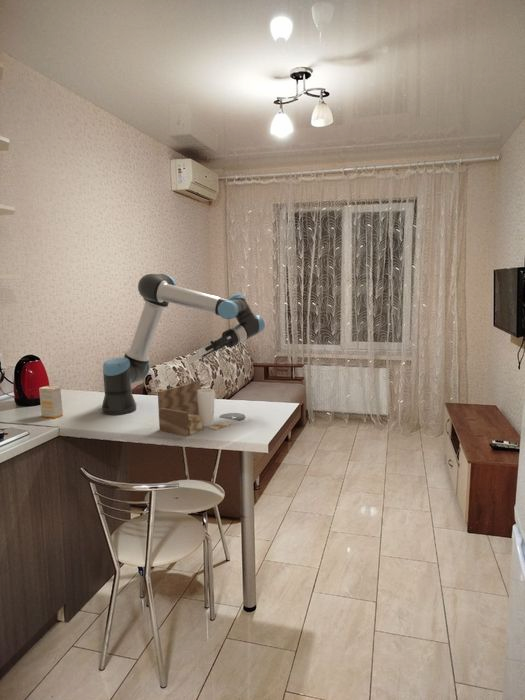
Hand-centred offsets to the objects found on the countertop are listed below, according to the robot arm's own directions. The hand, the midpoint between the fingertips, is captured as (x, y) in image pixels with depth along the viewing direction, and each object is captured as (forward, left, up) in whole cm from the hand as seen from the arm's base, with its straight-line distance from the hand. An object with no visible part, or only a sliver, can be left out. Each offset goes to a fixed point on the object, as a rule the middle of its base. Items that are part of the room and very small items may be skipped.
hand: (192, 357), depth 193 cm
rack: (+8, -1, -27) cm, 28 cm away
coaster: (-3, +16, -27) cm, 31 cm away
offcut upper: (+16, -2, -23) cm, 28 cm away
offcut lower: (+16, -2, -26) cm, 30 cm away
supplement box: (-21, -62, -27) cm, 71 cm away
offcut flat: (+12, +10, -27) cm, 31 cm away
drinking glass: (+8, +5, -27) cm, 29 cm away
